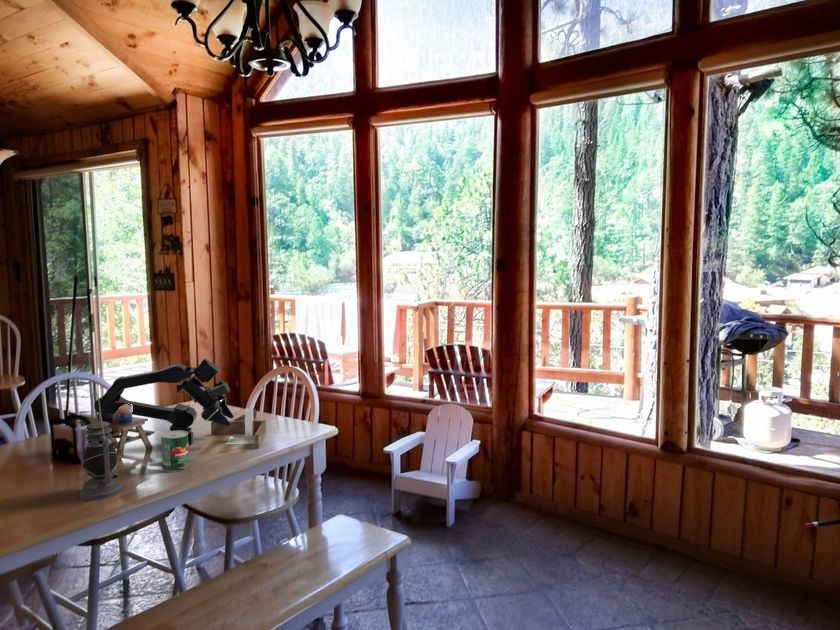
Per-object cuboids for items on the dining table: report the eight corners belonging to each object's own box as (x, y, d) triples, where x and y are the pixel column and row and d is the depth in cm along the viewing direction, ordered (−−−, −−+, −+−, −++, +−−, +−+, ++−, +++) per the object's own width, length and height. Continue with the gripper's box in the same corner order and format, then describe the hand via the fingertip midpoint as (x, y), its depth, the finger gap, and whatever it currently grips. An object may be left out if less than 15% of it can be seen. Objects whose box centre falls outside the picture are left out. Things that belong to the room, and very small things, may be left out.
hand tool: (235, 431, 219) (235, 420, 219) (226, 430, 220) (226, 419, 220) (262, 418, 237) (262, 407, 237) (253, 417, 238) (253, 406, 238)
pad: (225, 444, 201) (225, 443, 201) (230, 437, 209) (230, 436, 209) (254, 443, 202) (254, 443, 202) (258, 436, 210) (258, 436, 210)
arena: (196, 456, 191) (196, 439, 190) (212, 436, 212) (211, 421, 211) (257, 455, 193) (256, 438, 193) (266, 435, 214) (266, 420, 213)
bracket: (253, 437, 208) (253, 408, 207) (252, 441, 203) (252, 411, 202) (234, 438, 207) (233, 409, 205) (232, 442, 202) (232, 412, 201)
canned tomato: (169, 462, 186) (168, 429, 184) (193, 463, 186) (192, 430, 184) (157, 471, 178) (156, 437, 177) (182, 472, 178) (181, 438, 176)
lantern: (129, 493, 162) (125, 389, 159) (88, 504, 154) (83, 396, 151) (113, 481, 170) (108, 382, 167) (73, 491, 162) (67, 389, 159)
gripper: (211, 381, 192) (245, 412, 195) (219, 370, 210) (250, 398, 213) (186, 404, 191) (221, 435, 194) (196, 391, 209) (228, 419, 212)
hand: (231, 421), depth 203 cm, fingers open, 9 cm apart
